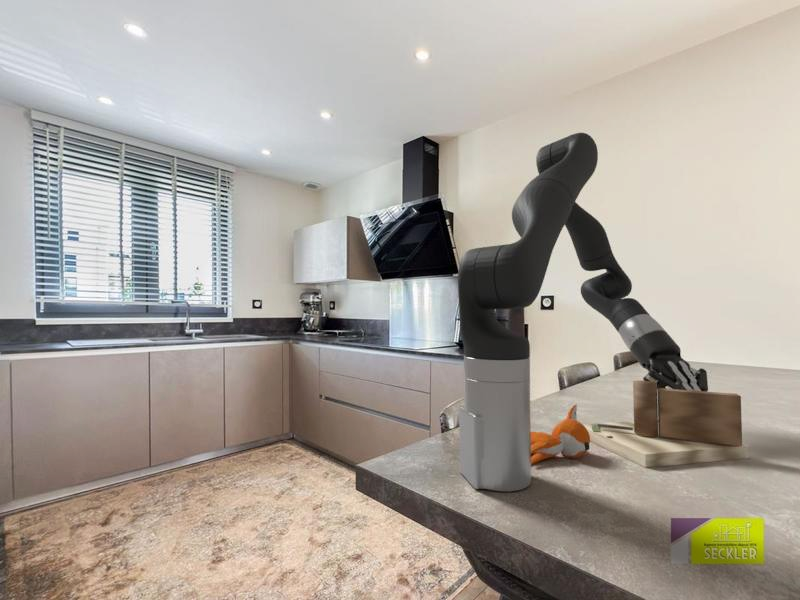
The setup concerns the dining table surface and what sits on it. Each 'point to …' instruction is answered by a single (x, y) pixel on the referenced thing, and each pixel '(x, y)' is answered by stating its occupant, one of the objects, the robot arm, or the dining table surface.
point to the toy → (561, 439)
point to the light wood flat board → (660, 447)
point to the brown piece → (686, 414)
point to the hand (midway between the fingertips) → (708, 416)
